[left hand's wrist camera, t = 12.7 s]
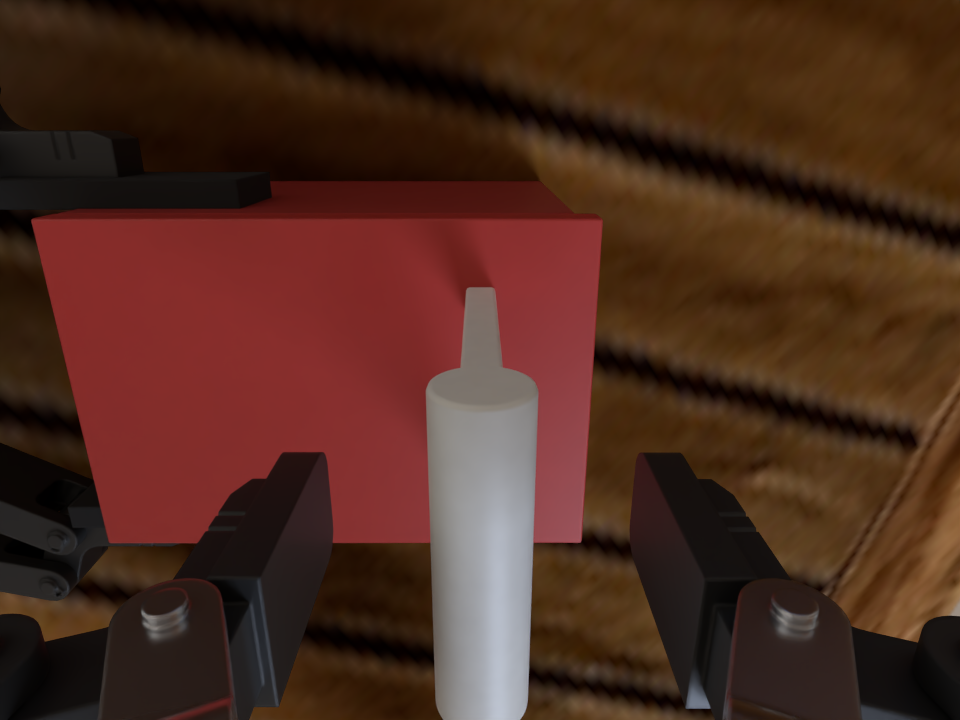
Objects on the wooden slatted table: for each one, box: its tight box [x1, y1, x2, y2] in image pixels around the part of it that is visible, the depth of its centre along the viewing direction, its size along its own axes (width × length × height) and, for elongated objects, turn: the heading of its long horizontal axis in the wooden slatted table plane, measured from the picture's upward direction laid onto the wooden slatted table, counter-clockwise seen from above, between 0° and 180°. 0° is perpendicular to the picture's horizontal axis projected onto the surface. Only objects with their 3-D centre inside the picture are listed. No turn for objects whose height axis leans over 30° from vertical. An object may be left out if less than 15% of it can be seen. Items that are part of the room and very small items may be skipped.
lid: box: [31, 214, 603, 720], centre depth 13 cm, size 13×9×8 cm
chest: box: [58, 181, 574, 214], centre depth 22 cm, size 13×9×9 cm
